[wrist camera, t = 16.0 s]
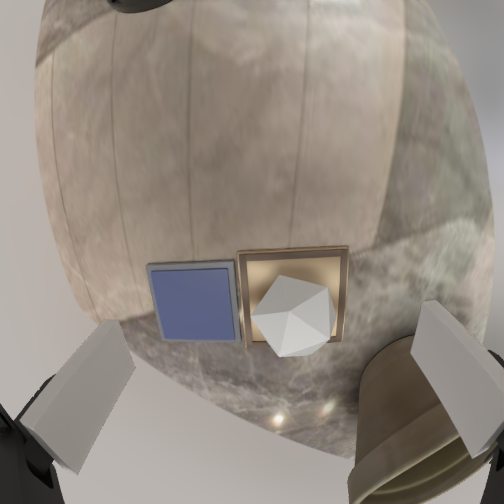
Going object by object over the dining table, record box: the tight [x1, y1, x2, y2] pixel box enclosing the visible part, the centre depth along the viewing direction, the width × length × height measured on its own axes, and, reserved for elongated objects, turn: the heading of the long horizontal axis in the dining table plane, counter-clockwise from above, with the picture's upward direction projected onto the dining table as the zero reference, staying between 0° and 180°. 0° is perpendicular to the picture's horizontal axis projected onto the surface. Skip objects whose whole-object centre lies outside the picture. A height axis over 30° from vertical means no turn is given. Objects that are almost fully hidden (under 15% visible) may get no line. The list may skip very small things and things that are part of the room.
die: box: [250, 275, 336, 357], centre depth 29 cm, size 8×9×10 cm
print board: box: [237, 246, 349, 348], centre depth 32 cm, size 13×13×1 cm
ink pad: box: [146, 260, 241, 343], centre depth 33 cm, size 11×11×1 cm
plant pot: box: [347, 335, 498, 504], centre depth 25 cm, size 25×25×22 cm
